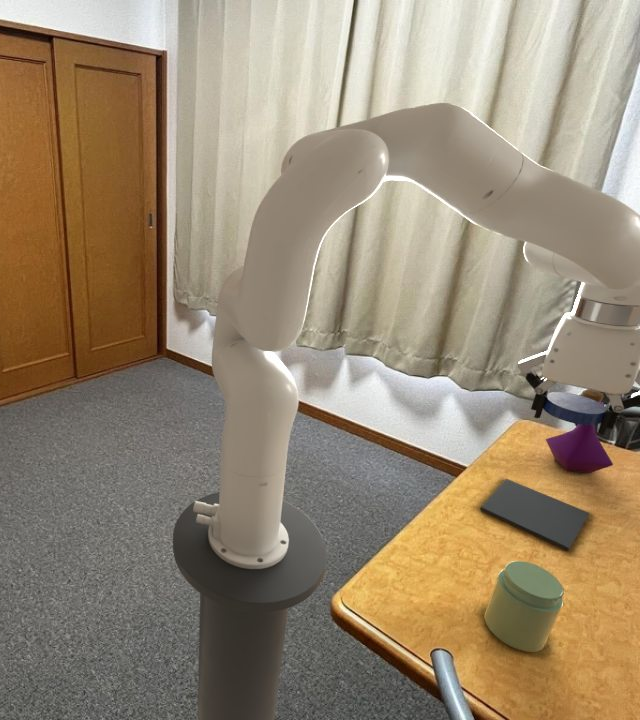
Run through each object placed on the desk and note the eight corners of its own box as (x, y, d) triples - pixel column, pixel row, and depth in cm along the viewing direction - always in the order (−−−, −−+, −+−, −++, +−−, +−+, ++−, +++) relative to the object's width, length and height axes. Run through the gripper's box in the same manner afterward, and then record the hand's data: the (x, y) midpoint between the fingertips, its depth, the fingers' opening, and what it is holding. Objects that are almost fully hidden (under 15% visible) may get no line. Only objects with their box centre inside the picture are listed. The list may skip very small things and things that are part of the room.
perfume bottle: (540, 452, 95) (568, 371, 88) (583, 456, 94) (615, 374, 87) (561, 475, 89) (593, 389, 82) (607, 479, 87) (644, 392, 80)
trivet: (568, 551, 72) (569, 548, 72) (480, 509, 81) (481, 507, 80) (588, 515, 79) (589, 512, 79) (505, 481, 87) (506, 478, 87)
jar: (490, 642, 59) (509, 592, 55) (479, 600, 64) (495, 552, 61) (553, 659, 57) (576, 608, 53) (535, 615, 62) (556, 566, 59)
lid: (602, 412, 72) (606, 401, 71) (601, 430, 67) (606, 419, 67) (544, 398, 76) (548, 387, 76) (539, 414, 72) (543, 403, 71)
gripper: (695, 316, 63) (644, 431, 70) (534, 295, 73) (504, 397, 80) (703, 331, 58) (647, 454, 65) (528, 306, 68) (496, 414, 75)
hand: (568, 421), depth 73 cm, fingers closed on lid, 7 cm apart
